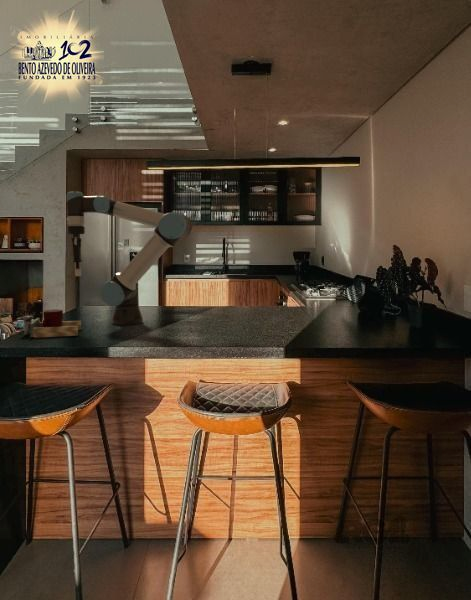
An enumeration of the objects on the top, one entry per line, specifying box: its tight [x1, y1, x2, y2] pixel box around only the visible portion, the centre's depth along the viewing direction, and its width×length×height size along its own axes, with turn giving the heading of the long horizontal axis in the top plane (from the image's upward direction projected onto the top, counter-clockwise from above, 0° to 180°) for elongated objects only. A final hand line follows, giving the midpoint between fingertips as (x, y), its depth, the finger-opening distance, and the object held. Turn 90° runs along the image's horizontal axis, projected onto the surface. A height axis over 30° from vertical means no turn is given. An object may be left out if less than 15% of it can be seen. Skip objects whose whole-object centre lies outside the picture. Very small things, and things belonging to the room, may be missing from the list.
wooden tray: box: [29, 317, 82, 338], centre depth 219 cm, size 19×16×6 cm
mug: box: [42, 308, 64, 327], centre depth 219 cm, size 10×8×10 cm
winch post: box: [21, 315, 34, 336], centre depth 216 cm, size 4×4×8 cm
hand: (78, 275), depth 234 cm, fingers closed
